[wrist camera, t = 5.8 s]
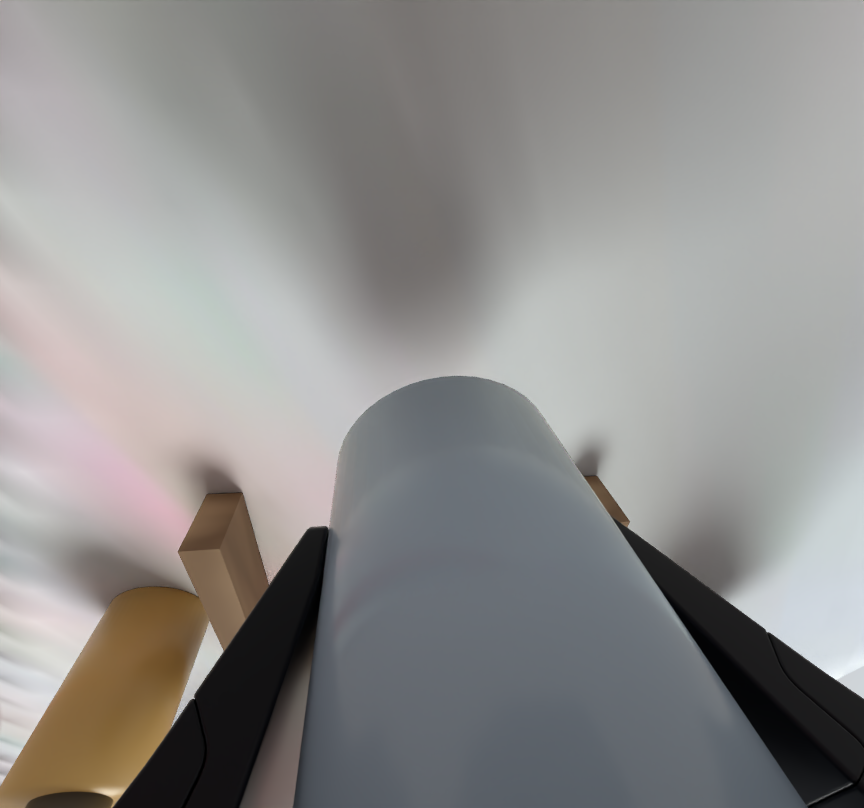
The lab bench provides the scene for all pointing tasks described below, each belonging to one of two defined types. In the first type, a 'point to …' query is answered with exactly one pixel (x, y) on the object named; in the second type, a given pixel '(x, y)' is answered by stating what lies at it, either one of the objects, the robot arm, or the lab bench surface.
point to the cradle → (253, 558)
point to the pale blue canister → (503, 632)
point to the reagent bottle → (111, 704)
